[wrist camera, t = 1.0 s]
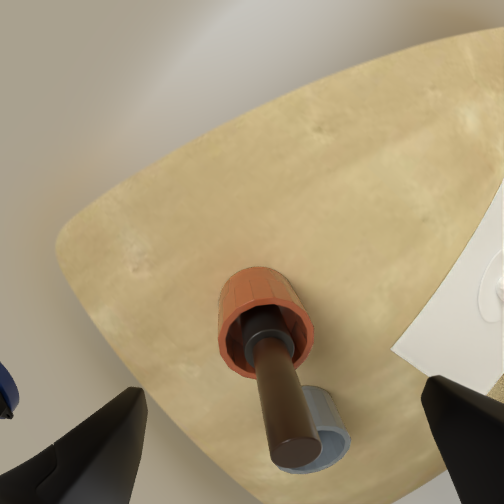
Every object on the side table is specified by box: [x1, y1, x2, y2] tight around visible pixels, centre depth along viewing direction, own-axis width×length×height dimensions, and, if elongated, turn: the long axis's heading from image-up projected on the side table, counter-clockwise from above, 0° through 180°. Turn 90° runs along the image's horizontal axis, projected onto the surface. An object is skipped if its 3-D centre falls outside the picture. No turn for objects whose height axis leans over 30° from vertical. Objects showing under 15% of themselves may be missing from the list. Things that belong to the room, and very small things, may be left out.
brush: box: [240, 304, 322, 468], centre depth 14 cm, size 3×3×11 cm
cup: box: [276, 386, 351, 474], centre depth 23 cm, size 6×6×5 cm
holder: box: [218, 267, 314, 380], centre depth 20 cm, size 5×5×6 cm
